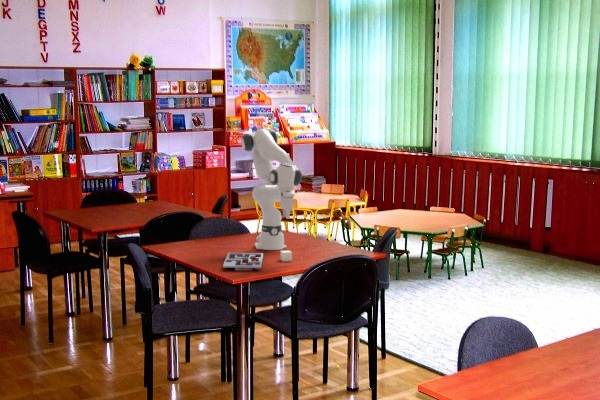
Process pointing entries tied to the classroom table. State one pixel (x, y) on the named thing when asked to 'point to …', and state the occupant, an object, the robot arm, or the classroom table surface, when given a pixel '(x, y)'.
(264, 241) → the robot arm
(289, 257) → the cream cube
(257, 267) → the maze game
